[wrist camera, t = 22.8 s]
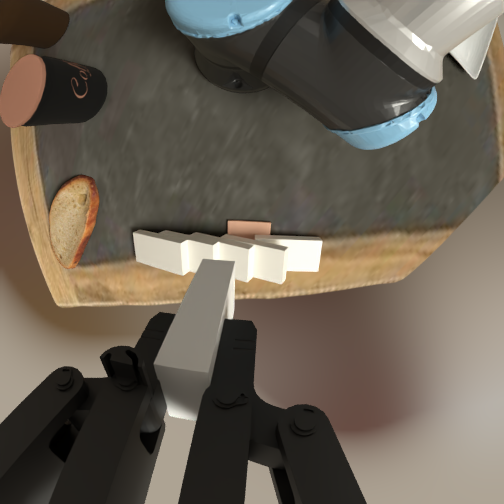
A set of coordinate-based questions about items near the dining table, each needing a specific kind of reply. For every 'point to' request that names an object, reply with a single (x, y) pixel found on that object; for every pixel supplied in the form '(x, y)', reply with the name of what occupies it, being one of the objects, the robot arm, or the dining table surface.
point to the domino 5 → (298, 250)
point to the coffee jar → (50, 92)
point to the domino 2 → (197, 249)
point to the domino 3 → (234, 255)
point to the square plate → (474, 49)
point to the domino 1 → (162, 251)
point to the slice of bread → (73, 219)
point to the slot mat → (248, 228)
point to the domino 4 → (266, 259)
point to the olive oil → (31, 23)
